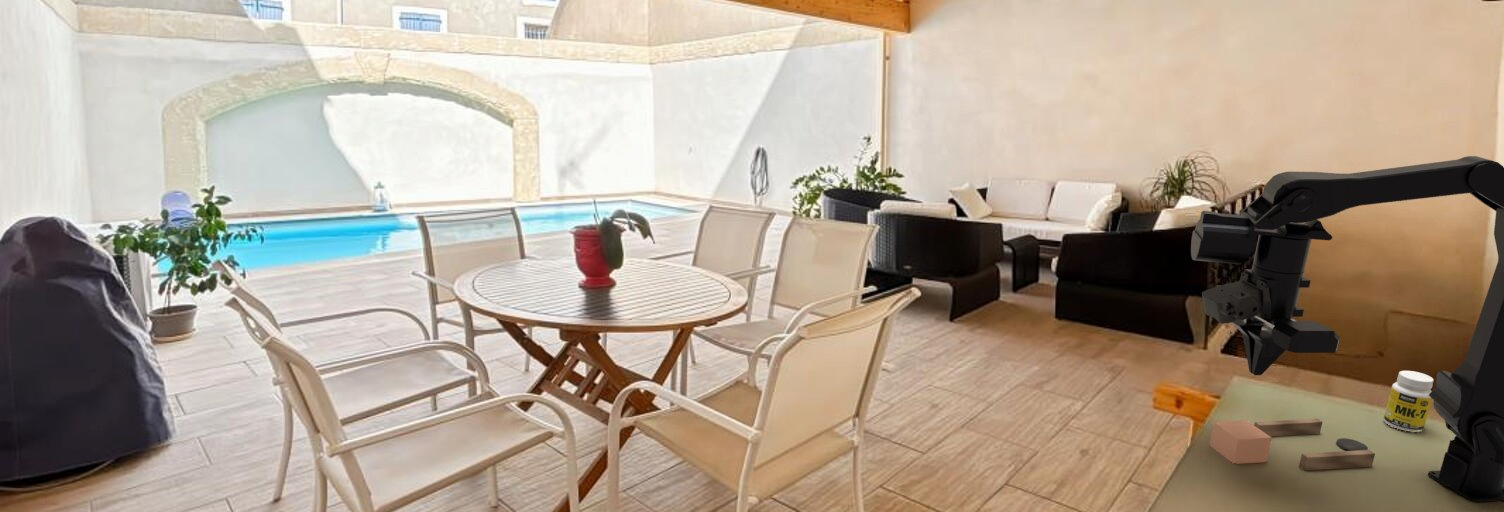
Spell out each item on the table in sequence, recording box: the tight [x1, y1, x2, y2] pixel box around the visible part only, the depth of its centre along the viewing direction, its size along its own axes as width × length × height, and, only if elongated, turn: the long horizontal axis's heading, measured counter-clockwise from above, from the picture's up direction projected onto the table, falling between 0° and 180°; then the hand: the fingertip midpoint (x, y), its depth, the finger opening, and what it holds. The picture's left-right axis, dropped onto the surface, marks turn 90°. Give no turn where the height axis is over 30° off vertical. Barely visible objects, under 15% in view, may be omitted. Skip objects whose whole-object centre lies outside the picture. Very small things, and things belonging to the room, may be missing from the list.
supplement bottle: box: [1383, 370, 1435, 432], centre depth 114 cm, size 5×5×8 cm
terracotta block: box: [1209, 419, 1273, 465], centre depth 107 cm, size 5×5×4 cm
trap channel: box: [1253, 418, 1376, 471], centre depth 109 cm, size 13×10×2 cm
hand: (1255, 373), depth 105 cm, fingers closed
